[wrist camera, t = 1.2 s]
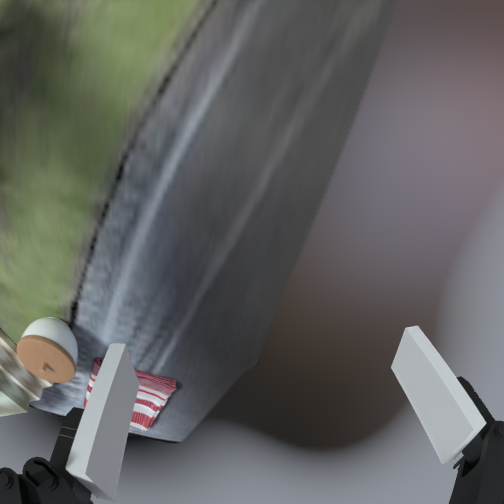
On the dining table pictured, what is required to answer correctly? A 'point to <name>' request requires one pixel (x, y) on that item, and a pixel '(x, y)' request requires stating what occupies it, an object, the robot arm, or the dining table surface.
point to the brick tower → (16, 380)
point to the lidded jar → (49, 350)
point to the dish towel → (142, 395)
